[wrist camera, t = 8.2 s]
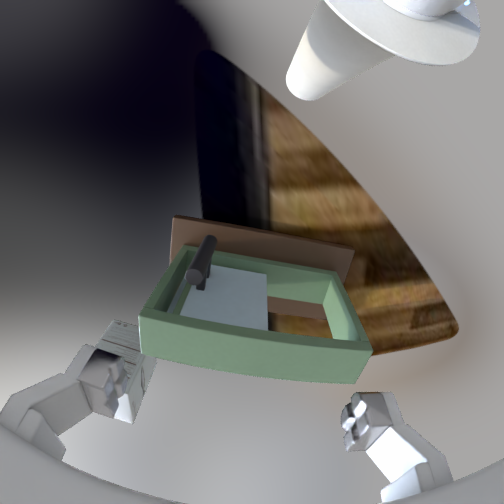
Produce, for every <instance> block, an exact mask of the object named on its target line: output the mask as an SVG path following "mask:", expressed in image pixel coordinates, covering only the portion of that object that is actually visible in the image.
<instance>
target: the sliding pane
mask: <svg viewBox="0 0 504 504" xmlns="http://www.w3.org/2000/svg"><path fill="white" fill-rule="evenodd" d="M216 245H217V239H216V237H215V236H213V235H207V236H205V237H204V239H203V241H202V243H201V244H200V246H199V248H198V250H197V252H196V254H195V256H194V258H193V260H192V262H191V263H190V265H189V267H188V269H187V271H186V273H185V279H186V281H187V282H186V285H185V287H184V289H183V291H182V293H181V295H180V297H179V300H178V302H177V304H176V306H175V308H174V310H173V313H172V314H177V315H182V316H187V317H192V318H197V319H202V320H207V321H212V322H218V323H223V324H229V325H235V326H241V327H247V328H253V329H260V330H266V331H268V311H267V277H266V274H261V273H255V272H250V271H244V270H238V269H233V268H227V267H221V266H216V265H211V261H212V255H213V253H214V250H215V248H216Z"/></svg>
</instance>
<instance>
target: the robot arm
mask: <svg viewBox="0 0 504 504" xmlns="http://www.w3.org/2000/svg"><path fill="white" fill-rule="evenodd" d="M382 1H383V2H384V3H386V4H387V5H388V6H390V7H391V8H393V9H395V10H396V11H398V12H400V13H402V14H404V15H406V16H409V17H411V18H414V19H417V20H422V21H435V20H438V19H440V18H442V17H443V16H445V15H446V14H448V13H449V14H457V13H459V12H461V11H462V4H465V5H468V4H470V3H469V0H382ZM124 366H125V359H124V357H122V356H119V355H116V354H113V353H110V352H107V351H105V350H102V349H99V348H96V347H93V346H90V345H88V344H85V345H84V346H82V348H81V349H80V350H79V352H78V353H77V355H76V356H75V358H74V359H73V361H72V362H71V364H70V365H69V367H68V368H67V370H66V372H65V373H64V374H62V373H60V374H57V375H55V376H53V377H51V378H49V379H46V380H44V381H42V382H39V383H38V384H35V385H33V386H31V387H28V388H26V389H24V390H22V391H19V392H17V393H15V394H13V395H12V396H11V397H10V398H9V400H8V402H7V403H6V404H5V406H4V407H3V409H2V411H1V412H0V504H185V503H180V502H176V501H171V500H167V499H163V498H159V497H155V496H152V495H148V494H144V493H141V492H138V491H134V490H131V489H128V488H125V487H122V486H119V485H116V484H114V483H111V482H108V481H106V480H103V479H100V478H98V477H95V476H93V475H91V474H88V473H86V472H84V471H81V470H79V469H77V468H75V467H73V466H71V465H69V464H67V463H64V462H62V458H63V456H64V454H65V451H66V448H65V446H64V445H63V444H62V442H61V441H60V439H59V438H58V437H57V436H59V435H60V434H62V433H63V432H65V431H66V430H68V429H69V428H71V427H72V426H74V425H75V424H77V423H78V422H79V421H81V420H82V419H84V418H85V417H87V416H88V415H89V414H91V413H92V412H95V413H98V414H101V415H104V416H107V417H110V418H114V416H115V413H116V411H117V409H118V407H119V402H118V398H120V397H121V396H123V395H124V393H125V390H126V386H127V382H128V376H127V371H126V370H125V369H124ZM341 427H342V429H344V431H345V432H346V434H345V436H344V442H345V448H346V451H366V453H367V454H368V455H369V456H370V458H371V459H372V460H373V461H374V462H375V464H376V465H377V466H378V467H379V469H380V470H381V471H382V472H383V473H384V475H385V476H386V477H387V478H388V479H389V481H390V482H391V484H389V485H387V486H386V487H384V488H383V489H382V490H381V497H382V503H378V504H504V458H503V459H501V460H499V461H497V462H496V463H493V464H491V465H490V466H488V467H486V468H484V469H481V470H479V471H477V472H475V473H473V474H470V475H468V476H466V477H463V478H461V479H458V480H456V481H453V478H452V475H451V472H450V469H449V466H448V463H447V460H446V458H445V456H444V455H443V454H442V453H441V452H440V451H438V450H437V449H436V448H435V447H434V446H433V445H431V444H430V443H429V442H428V441H427V440H426V439H424V438H423V437H422V436H421V435H420V434H418V433H417V432H416V431H415V430H414V429H413V428H412V427H411V426H409V425H408V424H405V423H404V420H403V418H402V415H401V412H400V410H399V407H398V404H397V402H396V399H395V396H394V394H393V393H392V392H356V393H354V394H353V396H352V397H351V403H349V404H347V405H346V406H345V408H344V409H343V410H342V414H341Z"/></svg>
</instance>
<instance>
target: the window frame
mask: <svg viewBox="0 0 504 504" xmlns="http://www.w3.org/2000/svg"><path fill="white" fill-rule="evenodd" d="M207 235H213V236H215V237H216V239H217V245H216V248H215V250H214V253H213V255H212V261H211V265H216V266H221V267H227V268H233V269H238V270H244V271H250V272H255V273H261V274H266V277H267V311H268V312H273V313H280V314H287V315H294V316H301V317H308V318H316V319H323V320H328V323H329V326H330V329H331V332H332V336H333V339H330V338H321V337H312V336H304V335H296V334H288V333H280V332H273V331H266V330H260V329H253V328H247V327H241V326H235V325H229V324H223V323H218V322H212V321H207V320H202V319H197V318H192V317H187V316H182V315H177V314H172V313H173V310H174V308H175V306H176V304H177V302H178V300H179V297H180V295H181V293H182V291H183V289H184V287H185V285H186V282H187V281H186V279H185V273H186V271H187V269H188V267H189V265H190V263H191V262H192V260H193V258H194V256H195V254H196V252H197V250H198V248H199V246H200V244H201V243H202V241H203V239H204V237H205V236H207ZM354 252H355V250H354V249H353V247H350V246H345V245H340V244H335V243H330V242H325V241H320V240H315V239H310V238H305V237H299V236H294V235H289V234H284V233H278V232H273V231H267V230H262V229H256V228H251V227H245V226H240V225H234V224H228V223H222V222H217V221H211V220H205V219H199V218H193V217H187V216H181V215H175V216H174V217H173V224H172V236H171V250H170V266H169V268H168V269H167V270H166V272H165V274H164V275H163V277H162V278H161V280H160V281H159V283H158V284H157V286H156V288H155V289H154V291H153V292H152V294H151V296H150V297H149V299H148V300H147V302H146V304H145V306H144V307H143V309H142V311H141V312H140V314H139V333H140V346H141V354H144V355H148V356H152V357H156V358H160V359H165V360H169V361H173V362H177V363H182V364H187V365H191V366H197V367H202V368H207V369H212V370H218V371H224V372H230V373H236V374H243V375H250V376H257V377H265V378H273V379H282V380H293V381H304V382H318V383H337V384H338V383H339V384H355V382H356V381H357V379H358V377H359V376H360V374H361V372H362V371H363V369H364V367H365V365H366V363H367V362H368V360H369V358H370V356H371V354H372V353H373V349H372V347H371V345H370V342H369V340H368V337H367V335H366V333H365V331H364V329H363V326H362V324H361V322H360V320H359V318H358V316H357V313H356V311H355V309H354V307H353V305H352V303H351V301H350V299H349V297H348V295H347V292H346V290H345V288H344V286H343V285H344V282H345V279H346V276H347V273H348V270H349V267H350V265H351V261H352V258H353V255H354Z"/></svg>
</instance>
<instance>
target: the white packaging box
mask: <svg viewBox="0 0 504 504" xmlns="http://www.w3.org/2000/svg"><path fill="white" fill-rule="evenodd" d="M95 347H96V348H99V349H102V350H105V351H107V352H110V353H113V354H116V355H119V356H122V357H124V359H125V366H124V369H125V370H126V371H127V376H128V382H127V386H126V390H125V393H124V395H123V396H121V397H120V398H118V402H119V407H118V409H117V411H116V413H115V416H114V418H116V419H119V420H122V421H125V422H128V423H132V424H133V423H134V421H135V418H136V416H137V413H138V410H139V408H140V405H141V402H142V400H143V397H144V395H145V392H146V390H147V387H148V384H149V382H150V379H151V377H152V374H153V372H154V369H155V367H156V364H157V363H156V357H152V356H148V355H144V354H141V346H140V333H139V326H136V325H132V324H128V323H125V322H121V321H118V320H113V321H112V322H111V324H110V325H109V327H108V328H107V330H106V331H105V333H104V334H103V336H102V337H101V338H100V340H99V341H98V343H97V344H96V346H95Z"/></svg>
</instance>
